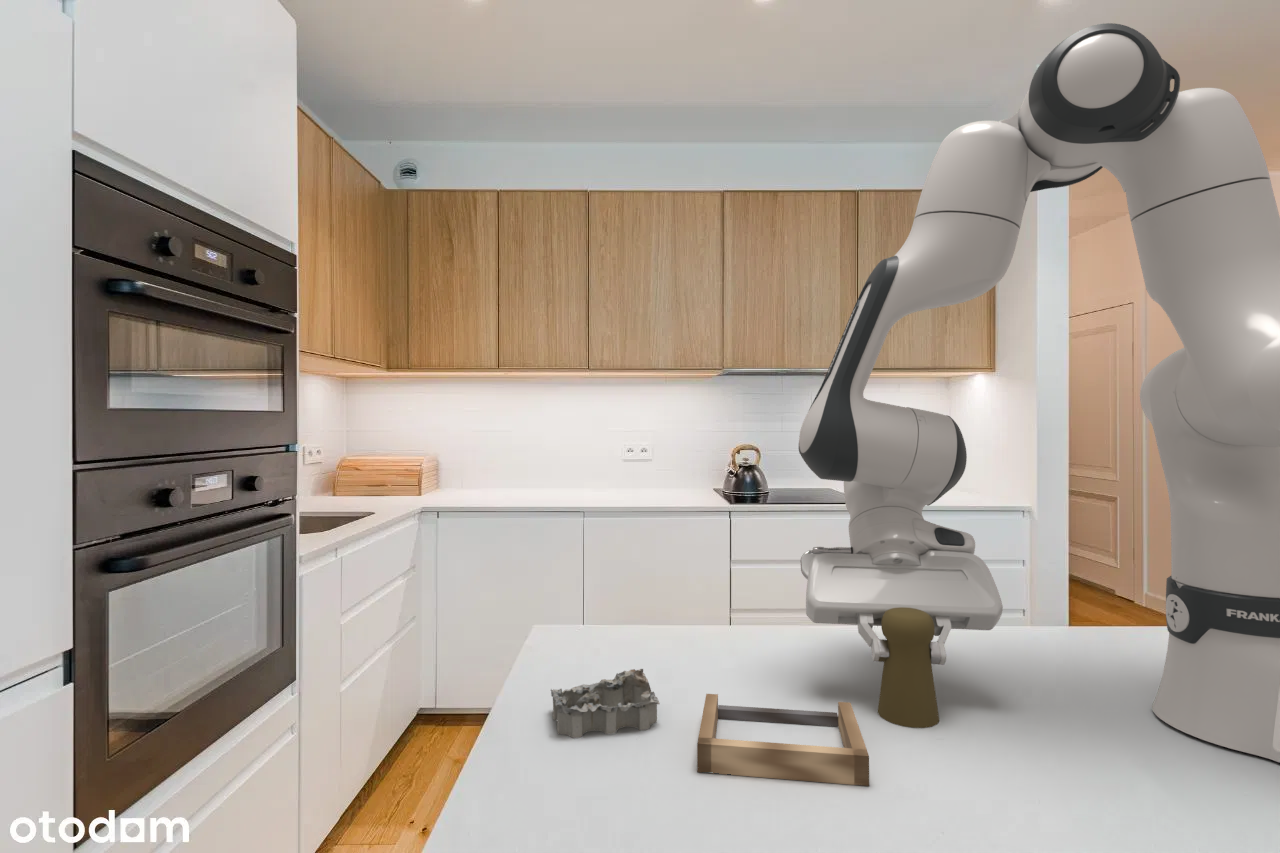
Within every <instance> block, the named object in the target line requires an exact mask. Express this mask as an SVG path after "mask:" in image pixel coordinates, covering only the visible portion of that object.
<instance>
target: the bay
mask: <svg viewBox="0 0 1280 853" xmlns="http://www.w3.org/2000/svg"><path fill="white" fill-rule="evenodd" d="M704 698H705V699H704V703H703V704H704V705H703V708H702V709H703V710H702V714H701V720H700V727H699V732H698V737H697V743H696V746H697V748H696V752H697V755H696V756H697V757H696V758H697V760H696V762H697V763H696V764H697V765H696V767H697V769H696V771H697V773H702V772H713V773H712V774H714V773H719V774H718V775H727V774H731V775H730V776H742V777H751V778H752V777H754V778H767V779H775V780H776V779H779V780H789V781H802V782H816V783H817V782H818V783H826V784H827V783H828V784H839V785H851V786H864V787H870V754H869V752H868V749H867V747H866V742H865V740H864V737H863V734H862V732H861V728H860V726H859V724H858V720H857V717H856V715H855V711H854V708H853V706H852V704H851V702H845V701H838V702H837V709H838V710H837V712H833V711H832V712H831V711H821V710H820V711H819V710H818V711H817V710H803V709H788V708H787V709H785V708H770V707H768V708H767V707H756V706H755V707H754V706H743V705H742V706H741V705H723V704H719V694H718V693H717V694H716V693H706V694H705V697H704ZM719 719H721V720H731V721H732V720H733V721H734V720H735V721H749V722H762V723H763V722H764V723H777V724H778V723H779V724H793V725H794V724H795V725H805V726H807V725H808V726H820V727H821V726H823V727H824V726H825V727H838V728H837V729H838V731H839V735H840V738H841V741H842V742H841V743H842V745H843V747H840V746H839V747H837V746H825V745H807V744H798V743H797V744H795V743H782V742H768V741H767V742H766V741H755V740H754V741H752V740H739V739H729V738H727V739H726V738H716V737H717V730H718V722H719Z"/></svg>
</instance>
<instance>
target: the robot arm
mask: <svg viewBox="0 0 1280 853" xmlns="http://www.w3.org/2000/svg"><path fill="white" fill-rule="evenodd" d="M1171 80H1173V81H1174V85H1173V90H1171ZM1180 87H1181V77H1180V73H1179V72H1178V70H1177V69H1176V68H1175V67H1173V66H1172V65H1171V64H1169V62H1167V61H1166V60H1164V59H1163V57H1162V56H1161V54H1160V53H1159V51H1158V50H1157V48H1156V47H1155V45H1154V44H1153V42H1151V40H1150V39H1148V38H1147V36H1145V35H1144V34H1142V33H1141V32H1140V31H1138V30H1136V29H1134V28H1132V27H1130V26H1128V25H1125V24H1120V23H1114V22H1113V23H1111V22H1110V23H1109V22H1108V23H1098V24H1093V25H1090V26H1088V27H1085V28H1082V29H1080V30H1078V31H1076V32H1075V33H1072V34H1071V35H1069V36H1068V37H1066V38H1065V39H1064V40H1062V41H1061V42H1060V43H1059V44H1057V45H1056V46H1055V47H1054V48H1053V49H1052V50H1051V51H1050V52H1049V53H1048V54H1047V56H1046V57H1045V58H1044V59H1043V60H1042V62H1040V64H1039V66H1038V67H1037V69H1036V70H1035V72H1034V73H1033V77H1032V79H1031V81H1030V85H1029V88H1028V89H1027V92H1026V93H1025V95H1024V98H1023V100H1022V103H1021V105H1020V108H1019V109H1018V111H1017V112H1015V113H1014V114H1013V115H1012V116H1009V117H1008V118H1005V119H1000V120H999V121H997V120H977V121H972V122H968V123H966V124H963V125H960V126H959V127H957V128H955V129H954V130H952V131H951V132H949V134H947V135H946V136H945V137H944V139H943V140H942V141H941V142H940V145H939V147H938V149H937V152H936V153H935V156H934V157H933V159H932V162H931V165H930V167H929V169H928V172H927V175H926V178H925V181H924V184H923V187H922V190H921V193H920V196H919V199H918V203H917V206H916V211H915V213H914V214H915V215H914V217H913V218H914V219H913V223H912V225H911V228H910V232H909V234H908V236H907V238H906V239H905V242H904V243H903V244H902V246H901V247H900V249H898V251H897V252H896V253H895V254H894V256H890V257H887V258H884V259H881V260H880V261H879V262H878V263H877V265H875V267H874V268H873V269H872V271H871V273H870V274H869V276H868V277H867V279H866V281H865V283H864V285H863V287H862V289H861V291H860V294H859V296H858V297H857V300H856V302H855V304H854V307H853V310H852V311H851V314H850V316H849V319H848V321H847V323H846V325H845V327H844V330H843V333H842V335H841V338H840V340H839V343H838V345H837V348H836V350H835V353H834V354H833V357H832V360H831V362H830V364H829V367H828V370H827V372H826V374H825V376H824V379H823V381H822V383H821V385H820V388H819V390H818V392H817V394H816V395H815V396H814V399H813V401H812V402H811V405H810V407H809V409H808V410H807V414H805V417H804V419H803V421H802V424H801V427H800V430H799V431H800V432H799V435H798V436H799V438H798V439H799V440H798V451H799V452H798V453H799V454H800V456H801V458H802V459H803V461H804V462H805V464H806V466H807V467H808V468H809V469H810V470H811V472H813V473H814V475H815V476H817V477H818V478H819V479H821V480H828V481H836V482H837V481H840V482H843V494H844V495H843V496H844V502H845V503H844V504H845V507H846V510H847V512H848V513H849V517H850V518H849V522H848V535H849V543H850V547H847V546H846V547H844V546H843V547H842V546H836V547H824V546H814V547H813V548H812V549H809V550H807V551H805V552H804V553H802V556H800V571H801V575H802V576H803V578H805V579H806V581H807V582H806V591H805V592H806V594H805V615H806V616H807V617H808V619H809V621H810V620H811V622H812V623H814V624H826V625H827V624H828V625H831V624H832V625H853V626H854V625H855V626H857V632H858V634H859V635H860V637H861V638H862V639H863V641H864V642H865V643H866V645H868V646H869V647H870V649H871V650H870V651H871V659H872V661H873V662H879V663H881V662H882V663H884V662H886V660H887V659H888V658H889V649H888V648H887V647H888V642H887V639H880V638H879V636H878V634H876V633H875V631H874V630H873V626H874V627H876V626H877V627H881V621H882V617H883V615H884V613H885V612H886V611H887V610H889V609H892V608H899V607H906V608H914V609H918V610H922V611H924V612H926V613H927V614H929V615H930V616H931V618H932V620H933V623H934V627H935V634H934V637H938V639H937V641H931V642H930V643H929V650H930V657H931V665H941V666H945V663H946V662H947V653H946V652H947V651H946V646H945V643H946V642H947V639H948V637H949V634H950V631H951V630H966V631H967V630H971V631H991V630H993V629H994V627H995V626H996V625H997V624H998V622H999V621H1000V619H1001V617H1002V614H1003V607H1004V606H1003V602H1002V598H1001V596H1000V593H999V590H998V587H997V584H996V582H995V579H994V577H993V575H992V573H991V571H990V569H989V567H988V565H987V564H986V562H985V561H984V560H983V559H982V558H981V557H979V556H977V555H976V554H975V551H976V550H975V549H976V541H975V540H976V539H975V538H974V536H973V535H972V534H970V533H968V532H965V531H962V530H957V529H953V528H950V527H946V526H943V525H940V524H936V523H933V522H930V521H927V520H926V519H924V516H923V513H922V512H923V509H924V507H925V506H930V505H932V504H934V503H936V502H937V501H938V500H939V499H940V498H943V496H944V495H945V494H947V493H948V492H949V491H950V490H952V489H953V488H954V487H955V486H956V485H957V484H958V482H960V480H961V478H962V477H963V475H964V473H965V470H966V467H967V448H966V443H965V442H966V441H965V440H964V439H965V438H964V436H963V433H962V430H961V429H960V427H959V424H957V423H956V421H955V420H954V419H953V418H952V417H951V416H949V415H945V414H943V413H939V412H934V411H930V410H925V409H920V408H919V409H918V408H914V407H909V406H907V407H905V406H900V405H895V404H890V403H885V402H880V401H874V400H871V399H867V398H866V397H864V391H865V389H866V386H867V384H868V381H869V379H870V376H871V374H872V372H873V370H874V367H875V365H876V362H877V360H878V358H879V356H880V353H881V350H882V348H883V345H884V343H885V340H886V338H887V336H888V334H889V332H890V330H891V329H892V328H893V326H894V325H895V324H897V322H899V321H900V320H902V319H903V318H904V317H906V316H908V315H910V314H914V313H917V312H920V311H926V310H931V309H938V308H943V307H948V306H954V305H958V304H963V303H966V302H968V301H972V300H974V299H976V298H979V297H981V296H982V295H985V293H987V292H989V291H990V290H992V289H993V288H994V287H995V286H996V285H997V284H999V282H1000V281H1002V279H1003V278H1004V277H1005V276H1006V273H1007V271H1008V269H1009V267H1010V265H1011V263H1012V260H1013V256H1014V254H1015V250H1016V247H1017V242H1018V239H1019V234H1020V230H1021V226H1022V221H1023V217H1024V212H1025V209H1026V205H1027V201H1028V199H1029V196H1030V193H1033V192H1037V191H1042V190H1047V189H1057V188H1065V187H1068V186H1072V185H1075V184H1078V183H1081V182H1083V181H1085V180H1088V178H1091V177H1092V176H1094V175H1096V173H1098V172H1099V171H1101V170H1102V169H1103V168H1104V169H1106V170H1107V171H1109V172H1110V173H1111V174H1112V175H1113V176H1114V177H1115V178H1116V179H1117V181H1118V182H1119V184H1120V187H1121V189H1122V191H1123V193H1125V197H1126V203H1127V205H1126V206H1127V209H1128V214H1129V219H1130V222H1131V223H1130V224H1131V229H1132V232H1133V237H1134V241H1135V245H1136V250H1137V255H1138V259H1139V263H1140V268H1141V273H1142V277H1143V282H1144V285H1145V286H1144V287H1145V290H1146V291H1147V294H1148V295H1149V297H1150V298H1151V299H1152V300H1153V301H1154V302H1155V303H1157V304H1158V305H1159V306H1160V307H1161V309H1163V311H1164V313H1165V314H1166V315H1167V318H1169V321H1170V322H1171V324H1172V326H1173V327H1174V330H1175V332H1176V333H1177V335H1178V337H1179V339H1180V341H1181V343H1182V345H1183V347H1182V348H1180V349H1177V350H1176V351H1174V352H1173V353H1171V354H1169V355H1168V356H1167V357H1165V358H1164V359H1162V360H1161V361H1160V362H1158V363H1157V364H1156V365H1155V366H1153V368H1151V369H1150V370H1149V372H1148V373H1147V374H1146V376H1145V377H1144V379H1143V381H1142V383H1141V387H1140V389H1139V391H1140V392H1139V401H1140V406H1141V408H1142V411H1143V413H1144V416H1145V417H1146V418H1147V420H1148V421H1149V423H1150V424H1151V426H1152V429H1153V433H1154V436H1155V442H1156V445H1157V450H1158V453H1159V458H1160V462H1161V466H1162V472H1163V474H1164V479H1165V482H1166V488H1167V493H1168V501H1169V509H1170V547H1171V548H1170V549H1171V550H1170V551H1171V555H1170V556H1171V559H1170V560H1171V562H1170V563H1171V575H1169V576H1168V577H1167V578H1166V584H1165V586H1166V588H1165V620H1166V621H1165V622H1166V628H1167V629H1166V630H1167V632H1168V642H1167V649H1166V656H1165V661H1164V666H1163V671H1162V676H1161V680H1160V684H1159V688H1158V690H1157V693H1156V696H1155V699H1154V701H1153V703H1152V705H1151V709H1152V712H1153V714H1154V715H1155V716H1157V717H1158V718H1159V719H1160V720H1162V721H1163V722H1165V723H1166V724H1167V725H1169V726H1171V727H1173V728H1175V729H1176V730H1178V731H1181V732H1183V733H1185V734H1187V735H1189V736H1192V737H1195V738H1198V739H1200V740H1202V741H1205V742H1208V743H1211V744H1214V745H1218V746H1220V747H1225V748H1228V749H1231V750H1235V751H1239V752H1243V753H1246V754H1250V755H1254V756H1257V757H1258V756H1259V757H1262V758H1265V759H1269V760H1271V761H1274V762H1277V763H1280V213H1279V212H1280V211H1279V209H1278V205H1277V202H1276V197H1275V192H1274V191H1273V186H1272V185H1273V184H1272V181H1271V177H1270V173H1269V170H1268V167H1267V166H1268V165H1267V162H1266V158H1265V156H1264V153H1263V150H1262V147H1261V144H1260V142H1259V140H1258V138H1257V135H1256V133H1255V130H1254V128H1253V126H1252V124H1251V122H1250V120H1249V118H1248V116H1247V114H1246V113H1245V111H1244V109H1243V107H1242V106H1241V104H1240V102H1239V101H1238V99H1237V98H1236V97H1235V95H1233V94H1232V93H1230V92H1229V91H1227V90H1225V89H1222V88H1218V87H1196V88H1190V89H1186V90H1182V91H1181V90H1180Z"/></svg>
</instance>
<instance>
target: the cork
mask: <svg viewBox="0 0 1280 853" xmlns="http://www.w3.org/2000/svg"><path fill="white" fill-rule="evenodd" d="M880 628H881V631H882V635H883V636H884V638H885V640H887V642H888V647H887V648H888V649H889V658H888V659H887V660H886V662H883V668H882V674H881V675H882V677H881V682H880V688H879V699H878V706H877V714H878V715H879V717H880V718H882V719H883V720H884V721H887V723H891V724H893V725H898V726H901V727H905V728H911V729H925V728H933V727H934V726H936V725H938V724H939V722H940V717H939V716H940V715H939V707H938V702H937V701H938V700H937V695H936V686H935V681H934V674H933V666H932V665H933V664H931V657H930V650H929V643H930V642H933V640H934V637H935V635H934V634H935V627H934V623H933V620H932V618H931V616H930V615H929V614H927V613H926V612H924V611H922V610H918V609H914V608H906V607H899V608H892V609H889V610H887V611H886V612H885V613H884V615H883V617H882V621H881V626H880Z"/></svg>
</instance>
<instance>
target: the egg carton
mask: <svg viewBox="0 0 1280 853" xmlns="http://www.w3.org/2000/svg"><path fill="white" fill-rule="evenodd" d="M550 691H551V692H550V696H551V697H552V719H553V721H556V722H557V723H556V731H557V734H558V735H564V736H569V737H570V738H571V739H578V738H583V735H584V734H585V733H587V732H592V731H597V732H602V733H604V734H605V735H611V734H612V735H613V734H617V732H618V730H620V729H621V728H625V727H629V728H630V727H632V728H636V729H638V730H639V731H646V730H647V731H648V730H650V727H651V726H652V725H653V724H656V723H657V721H658V705H660V703H661V702H660V701H659V699H658V696H656V693H655V692H654V691H652V688H651V685H650V683H649V680H648V678H647V677H646V674H645V673H644V668H639V669H635V668H633V669H630V670H628V671H627V670H623V671H621V672H619V673H618V672H617V673H616V675H615V677H614V678H613V679H605V678H604V679H601V680H599V682H595V683H592V684H584V683H583V684H581V685H577V686H574V687H571V688H570V689H564V690H563V689H562V688H559V689H554V688H553V689H550Z"/></svg>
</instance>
